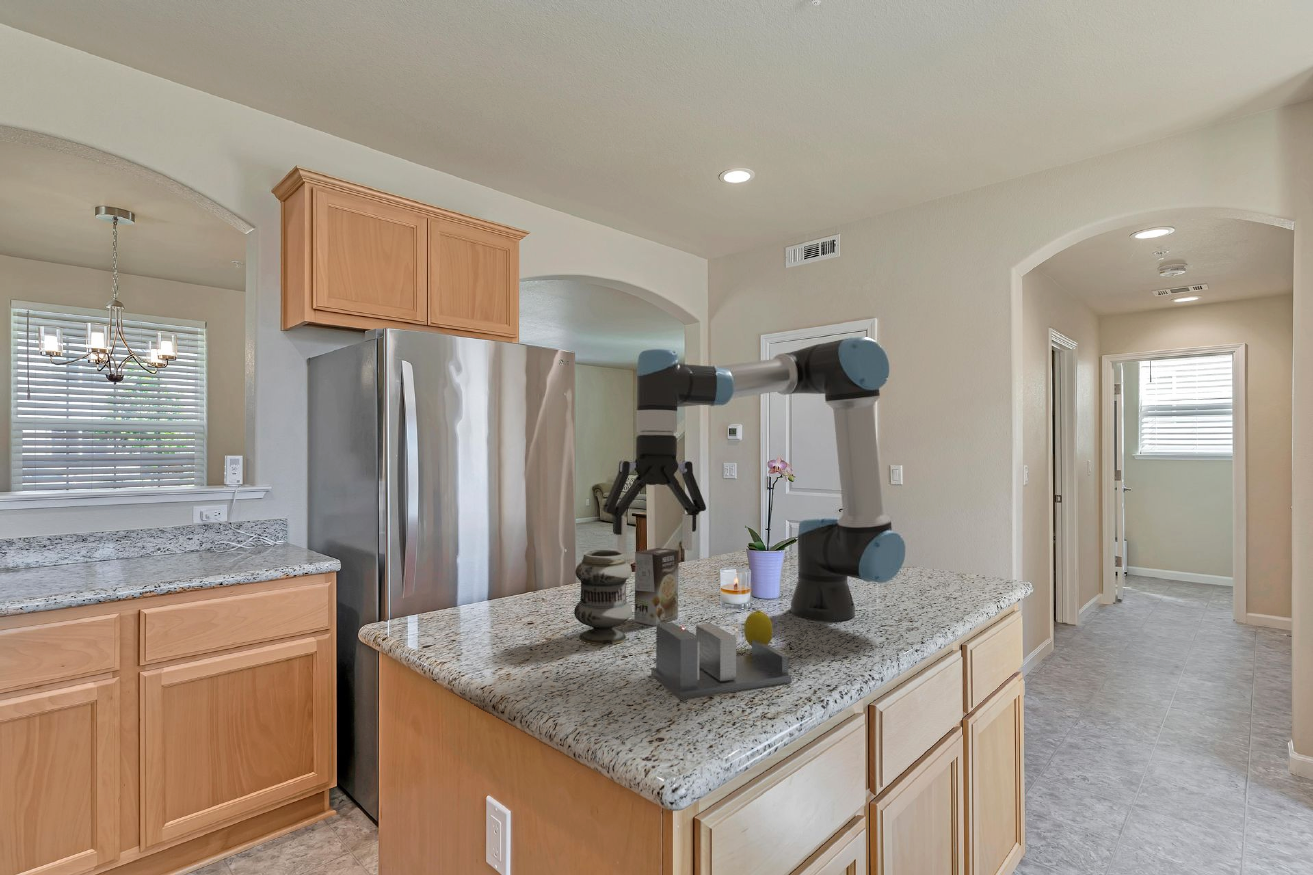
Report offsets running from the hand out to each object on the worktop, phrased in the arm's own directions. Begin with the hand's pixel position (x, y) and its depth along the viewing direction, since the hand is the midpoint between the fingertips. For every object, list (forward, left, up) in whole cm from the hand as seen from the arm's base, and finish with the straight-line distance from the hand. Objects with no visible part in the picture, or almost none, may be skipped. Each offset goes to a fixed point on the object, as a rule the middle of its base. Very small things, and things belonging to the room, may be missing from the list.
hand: (655, 551), depth 119 cm
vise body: (-8, +10, -21) cm, 25 cm away
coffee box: (-13, -29, -21) cm, 38 cm away
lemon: (-23, -1, -21) cm, 31 cm away
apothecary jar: (+3, -20, -21) cm, 29 cm away
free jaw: (-7, +5, -20) cm, 21 cm away
